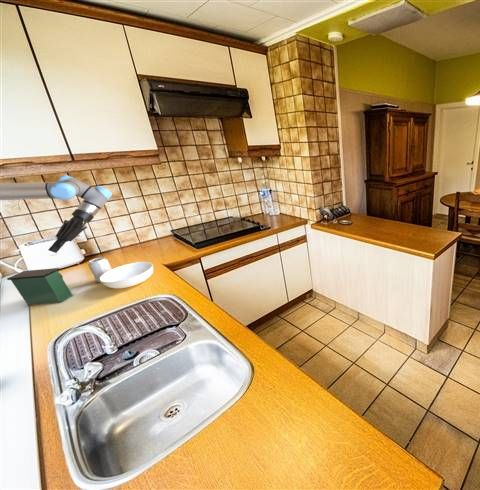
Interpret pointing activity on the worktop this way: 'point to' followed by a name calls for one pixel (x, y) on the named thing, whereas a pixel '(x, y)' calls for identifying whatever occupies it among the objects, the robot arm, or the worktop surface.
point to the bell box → (41, 286)
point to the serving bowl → (127, 275)
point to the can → (99, 267)
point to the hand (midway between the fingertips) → (52, 251)
